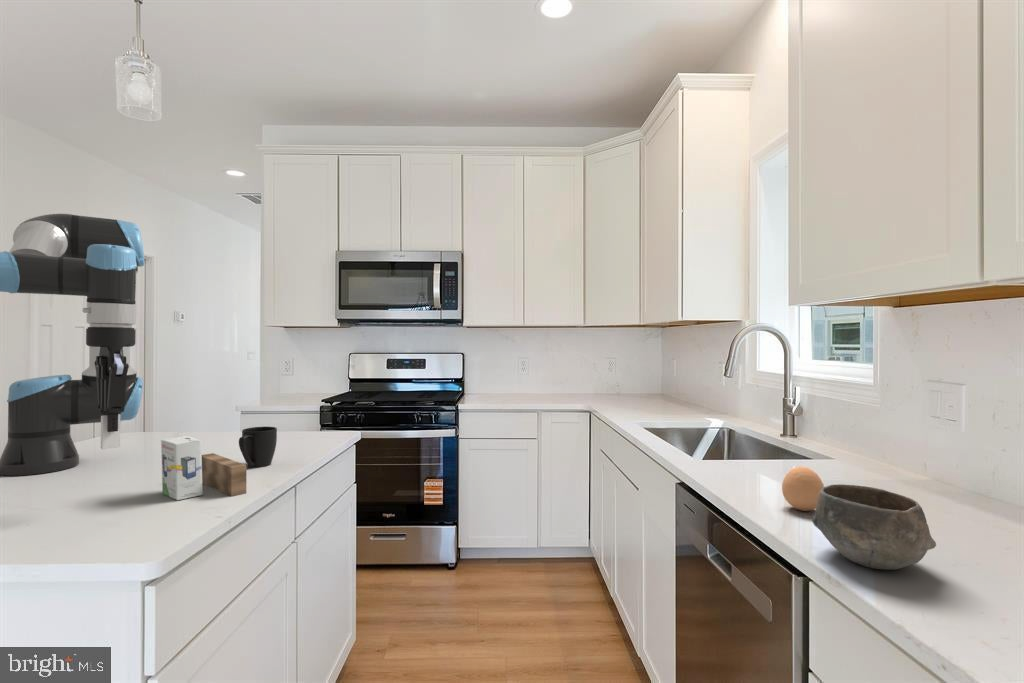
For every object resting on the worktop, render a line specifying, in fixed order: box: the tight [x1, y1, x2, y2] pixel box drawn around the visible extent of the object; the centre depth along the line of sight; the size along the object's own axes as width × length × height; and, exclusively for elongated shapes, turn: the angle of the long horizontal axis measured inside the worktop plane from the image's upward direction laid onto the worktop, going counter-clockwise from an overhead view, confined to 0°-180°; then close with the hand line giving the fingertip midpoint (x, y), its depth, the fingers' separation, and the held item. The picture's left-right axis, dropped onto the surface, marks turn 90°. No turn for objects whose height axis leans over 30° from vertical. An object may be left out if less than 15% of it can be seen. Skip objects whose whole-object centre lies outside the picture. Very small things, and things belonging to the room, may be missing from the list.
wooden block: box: [201, 452, 248, 497], centre depth 114 cm, size 18×3×6 cm, turn 51°
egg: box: [781, 465, 825, 512], centre depth 100 cm, size 7×7×8 cm
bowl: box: [811, 483, 937, 570], centre depth 77 cm, size 14×15×10 cm
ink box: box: [160, 435, 204, 501], centre depth 108 cm, size 9×5×12 cm, turn 52°
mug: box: [238, 426, 278, 469], centre depth 132 cm, size 8×12×10 cm
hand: (110, 447), depth 99 cm, fingers closed
